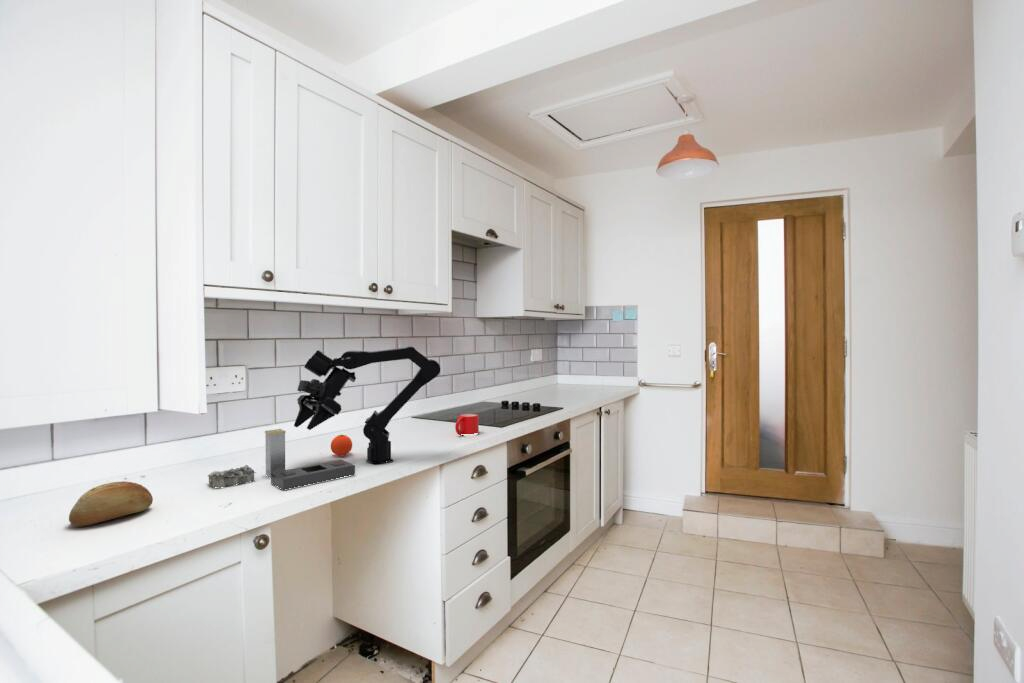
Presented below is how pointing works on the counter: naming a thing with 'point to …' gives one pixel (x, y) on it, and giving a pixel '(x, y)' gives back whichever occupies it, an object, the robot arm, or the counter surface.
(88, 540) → the counter surface
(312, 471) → the rack rail
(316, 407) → the robot arm
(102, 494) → the bread roll
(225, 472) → the egg carton
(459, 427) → the mug
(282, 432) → the square bar
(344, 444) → the clementine
